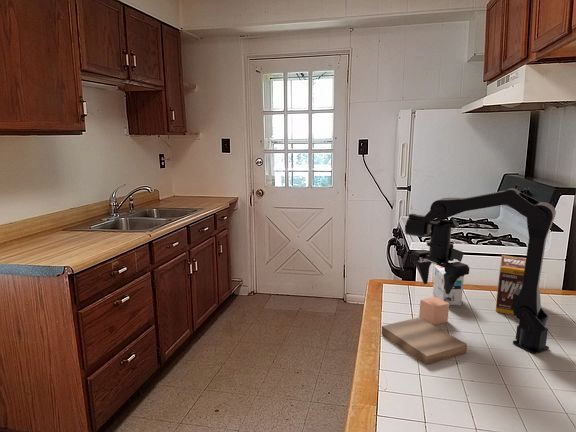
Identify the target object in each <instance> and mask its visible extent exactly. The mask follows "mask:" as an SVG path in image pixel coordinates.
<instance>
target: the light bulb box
mask: <svg viewBox="0 0 576 432" xmlns="http://www.w3.org/2000/svg"><path fill="white" fill-rule="evenodd" d="M445 273H446V272H445V268H444V267H441V266H439V265H434V277H433V289H432V294H433V296H434V297H437V298H439V299H441V300H443V301H445V302H447V303H449V306H462V300H463V291H464V290H463V289H464V281H465V279H464V278H465V275H464V276H461V277H459V278H458V279H457V281H456V282H455V284H454V286H453V288H452V290H451V292H450V293H449V294H446V292H445V284H444V274H445Z"/></svg>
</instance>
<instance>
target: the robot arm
mask: <svg viewBox="0 0 576 432" xmlns="http://www.w3.org/2000/svg"><path fill="white" fill-rule="evenodd" d="M431 203H432V204H431V205H430V209H429V211H428V212H427V213H426V214H425V215H423V214H422V215H421V214H417V213H409V214H408V218H407V220H406V223H405V225H404V233H405V234H406V235H407V236H413V237H418V238H419V237H420V238H426V237H427V236H429V235H430V239H429V241H427V242H426V246H428V247H429V249H428V250H426V249H424V248H423V249H417V250H413V251H412V252H411V253H410V261H412V263H413V264H414V266H415V268H416V270H417V271H418V273H419V276H420V278H421V280H422V283H423V284H424V285H426V284H428V281H429V275H430V274H429V273H430V267H431V265H432V264H433V265H435V266H441V267H444V268H445V272H446V273H445V274H444V284H445V292H446V294H449V293H450V292H451V290H452V288H453V286H454V284H455V282H456V281H457V279H458V278H459V277H461V276H464V277H465V276H466V275H469V274H470V266H469V265H468V264H466V263H463V262H462V259H463V258H464V255H465V252H464V251H462V250H458V249H457V248H456V249H455V248H454V244H453V243H452V242H451V239H452V238H451V236H452V229H456V228H458V227H459V226H460V224H459V223H458V222H457V221H456V219H455V218H451V219H449V220H447V218H450V217H453V216H455V215H458V214H460V213H463V212H469V211H474V210H480V209H485V208H492V207H498V206H504V205H507V206H510V207H511V208H513V210H515V211H516V212H517V213H519V214H520V215H522V216H523V217H525V218H526V226H527V227H526V228H527V233H528V245H527V251H526V257H525V258H526V263H525V270H524V277H523V283H522V288H521V289H519V288H517V289H516V290H515V292H514V293H513V304H512V306H511V308H513V313H514V315H513V316H514V317H515V318H516V319H517V320H518V321H519V322H518V325H516V331H515V332H516V333H515V340H513V341H512V344H513V345H516V346H517V347H520V348H522V349H523V350H525V351H527V352H530V353H531V354H538V353H542V352H544V351H548V350H550V346H548V345H547V339H548V333H549V332H548V331H549V329H548V328H546V325H547V323H548V320H549V315H548V314H547V313H546V311H545V310H544V309H543V308H542V305H541V303H542V302H541V300H542V299H541V294H540V280H541V275H542V268H543V262H544V256H545V249H546V242H547V238H548V236H549V233H550V230H551V228H552V225H553V223H554V220H555V217H556V215H557V214H556V213H557V212H556V208H555V207H554V206H553V205H552V204H550V203H549V202H544V201H538V200H537V199H535V198H533V197H531V196H530V195H527V194H525V193H523V192H521V191H519V190H518V189H517V188H515V187H513V188H508V189H506V190H500V191H494V192H490V193H485V194H479V195H475V196H469V197H442V198H440V199H437V200H434V201H433V202H431ZM433 220H438V221H433ZM454 260H455V261H454ZM456 260H457V261H456ZM449 261H450V262H449ZM452 261H453V262H452Z"/></svg>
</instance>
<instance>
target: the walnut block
mask: <svg viewBox="0 0 576 432" xmlns="http://www.w3.org/2000/svg"><path fill="white" fill-rule="evenodd" d="M381 335H382V336H383V337H385V338H386V339H388V340H389V341H391V342H392V343H394V344H395V345H397V346H398V347H399V348H401V349H402V350H404V351H405V352H407V353H408V354H410V355H411V356H413V357H414V358H415V359H417V360H418V361H419V362H421V363H422V364H424V365H425V366H428V365H431V364H435V363H439V362H441V361H444V360H447V359H452V358H454V357H458V356H461V355H465V354H467V348H468V344H467V343H465V342H464V341H462V340H460V339H458V338H456V337H455V336H453V335H452V334H450V333H448V332H446V331H444V330H442V329H441V328H438V327H437V326H435V325H432V324H430V323H429V322H427V321H425V320H423V319H421V318H420V317H419V316H418V317H414V318H411V319H406V320H402V321H398V322H394V323H390V324H385V325H381Z"/></svg>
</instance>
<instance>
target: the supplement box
mask: <svg viewBox="0 0 576 432" xmlns="http://www.w3.org/2000/svg"><path fill="white" fill-rule="evenodd" d="M525 263H526V257H519V256H511V255H501V259H500V266H499V273H498V274H499V275H498V282H497V283H498V284H497V292H496V293H497V294H496V301H495V312H497V313H501V314H507V315H512V316H514V313H513V308H511V306H512V304H513V293H514V292H515V290H516V289H517V288H519V289H521V288H522V283H523V277H524V270H525Z"/></svg>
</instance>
